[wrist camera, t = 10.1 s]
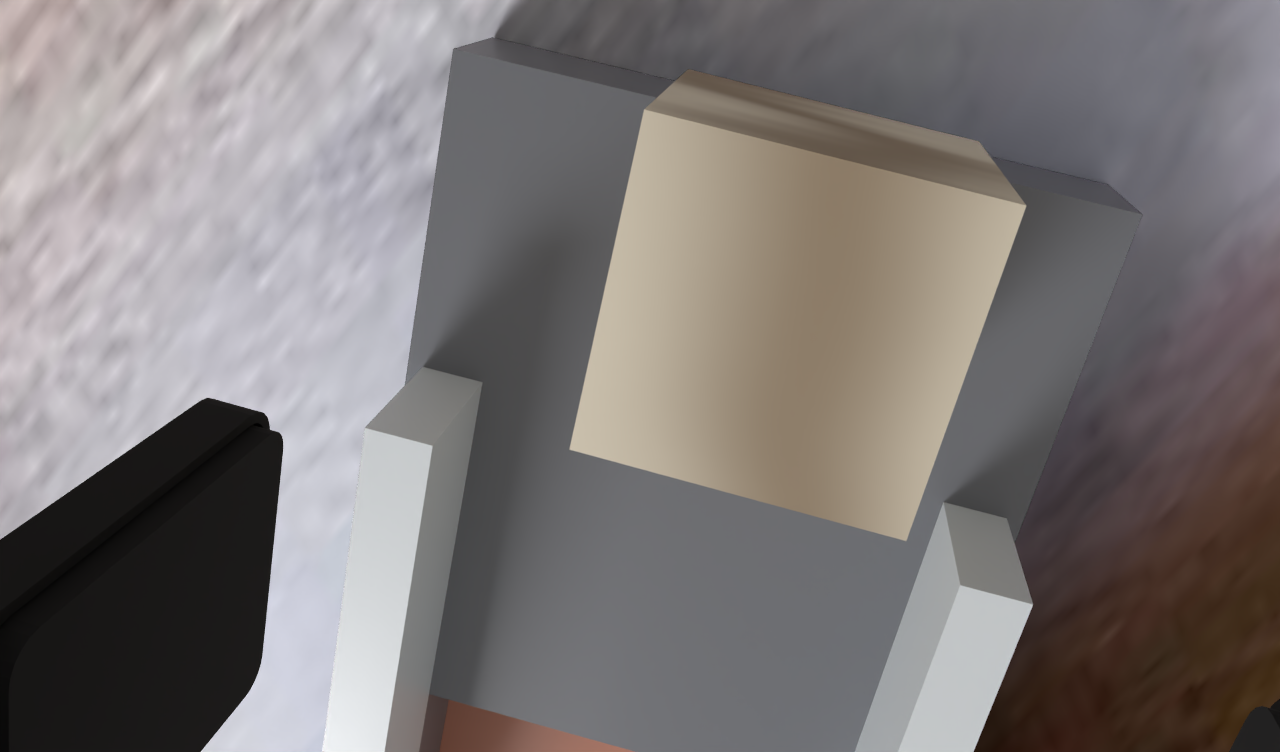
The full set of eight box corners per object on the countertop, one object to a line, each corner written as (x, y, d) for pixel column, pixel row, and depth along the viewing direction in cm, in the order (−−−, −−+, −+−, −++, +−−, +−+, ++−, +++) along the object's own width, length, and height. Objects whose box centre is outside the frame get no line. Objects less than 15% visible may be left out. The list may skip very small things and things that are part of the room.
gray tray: (802, 1005, 30) (796, 1226, 25) (361, 877, 31) (267, 1064, 25) (1109, 184, 21) (1195, 260, 16) (492, 37, 22) (392, 66, 17)
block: (625, 338, 21) (569, 449, 17) (688, 68, 19) (643, 109, 15) (889, 408, 21) (905, 540, 16) (979, 141, 19) (1026, 205, 14)
